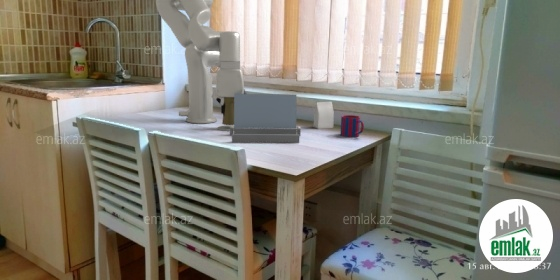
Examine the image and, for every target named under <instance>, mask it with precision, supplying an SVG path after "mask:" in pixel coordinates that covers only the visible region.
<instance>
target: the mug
mask: <svg viewBox="0 0 560 280" xmlns="http://www.w3.org/2000/svg"><path fill="white" fill-rule="evenodd" d="M340 119H341V120H340V133H339V134H340V136H342V137H345V138H358V137H359V136H360V135H361V134H362V133H363V132H364V128H365V123H364V121H363V120H361V116H359V115H352V114H343V115H341V116H340Z"/></svg>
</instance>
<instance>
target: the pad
mask: <svg viewBox="0 0 560 280" xmlns="http://www.w3.org/2000/svg"><path fill="white" fill-rule="evenodd" d="M230 126H234V125H219V126H218V127H217V128H216V129H217V130H218V131H222V132H230Z"/></svg>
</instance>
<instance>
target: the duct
mask: <svg viewBox="0 0 560 280" xmlns="http://www.w3.org/2000/svg"><path fill="white" fill-rule="evenodd" d="M301 130H302V129H301V126H296V128H234V126H230V131H229V135H230V136H231V143H264V144H265V143H271V144H272V143H273V144H274V143H276V144H278V143H284V144H285V143H286V144H287V143H289V144H292V143H293V144H294V143H295V144H296V143H297V144H299V143H300V137H301V134H302V133H301Z"/></svg>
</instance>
